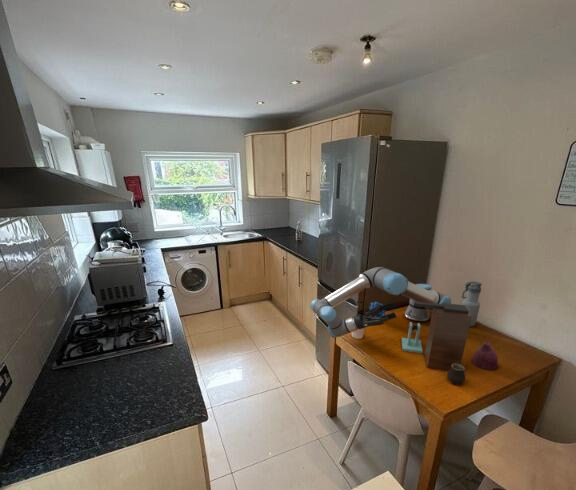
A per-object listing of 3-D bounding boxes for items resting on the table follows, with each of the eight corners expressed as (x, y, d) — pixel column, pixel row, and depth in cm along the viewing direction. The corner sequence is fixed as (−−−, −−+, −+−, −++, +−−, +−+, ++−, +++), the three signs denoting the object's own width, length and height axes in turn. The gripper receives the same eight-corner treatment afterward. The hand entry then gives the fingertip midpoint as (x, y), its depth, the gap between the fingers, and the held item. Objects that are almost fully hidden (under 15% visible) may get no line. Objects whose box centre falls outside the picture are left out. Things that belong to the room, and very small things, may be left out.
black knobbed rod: (407, 329, 177) (408, 323, 178) (414, 330, 176) (414, 324, 177) (411, 330, 163) (411, 323, 163) (418, 331, 162) (418, 324, 162)
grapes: (365, 318, 201) (367, 302, 197) (369, 315, 206) (371, 298, 202) (382, 323, 195) (384, 306, 190) (386, 319, 200) (388, 303, 195)
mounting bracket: (401, 339, 175) (404, 318, 170) (420, 342, 172) (423, 320, 167) (402, 350, 164) (406, 328, 159) (422, 353, 161) (426, 330, 156)
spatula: (412, 302, 150) (413, 299, 150) (464, 308, 144) (465, 305, 143) (414, 308, 144) (414, 304, 143) (468, 314, 138) (468, 310, 137)
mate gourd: (456, 375, 143) (460, 357, 140) (468, 386, 136) (472, 367, 133) (442, 377, 142) (446, 359, 139) (453, 387, 135) (457, 369, 132)
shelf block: (424, 354, 160) (434, 303, 150) (453, 359, 156) (465, 306, 146) (427, 367, 149) (437, 312, 139) (458, 372, 145) (471, 316, 135)
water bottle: (454, 321, 197) (462, 281, 188) (464, 318, 201) (473, 279, 191) (468, 328, 189) (478, 286, 179) (478, 325, 192) (488, 283, 183)
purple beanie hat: (483, 376, 148) (488, 354, 140) (467, 362, 157) (470, 340, 149) (501, 368, 149) (506, 346, 142) (484, 355, 158) (488, 333, 151)
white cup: (358, 340, 174) (359, 325, 170) (347, 335, 179) (349, 320, 176) (366, 336, 178) (368, 321, 175) (356, 331, 184) (357, 316, 181)
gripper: (361, 319, 172) (397, 305, 163) (357, 340, 149) (399, 326, 140) (355, 307, 170) (391, 294, 162) (350, 327, 148) (392, 312, 139)
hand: (395, 309), depth 151 cm, fingers open, 13 cm apart
